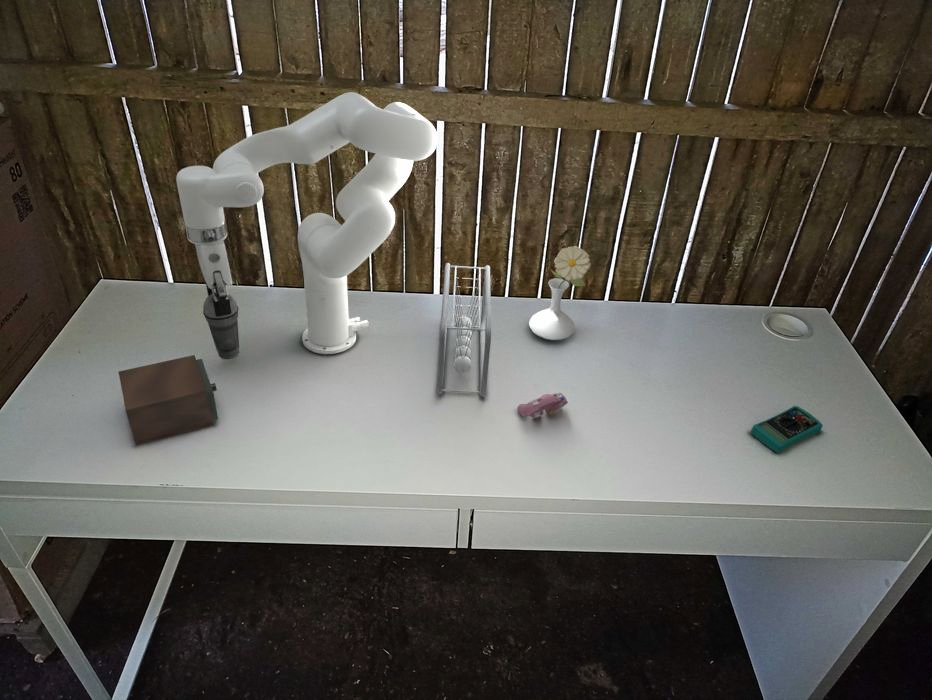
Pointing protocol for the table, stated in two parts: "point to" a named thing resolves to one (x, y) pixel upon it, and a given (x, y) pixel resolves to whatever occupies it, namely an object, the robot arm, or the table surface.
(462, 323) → the newton's cradle
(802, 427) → the digital multimeter
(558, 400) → the pink toy car
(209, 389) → the drawer
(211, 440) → the table surface
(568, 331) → the flower in vase
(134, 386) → the cabinet
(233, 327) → the beverage cup
